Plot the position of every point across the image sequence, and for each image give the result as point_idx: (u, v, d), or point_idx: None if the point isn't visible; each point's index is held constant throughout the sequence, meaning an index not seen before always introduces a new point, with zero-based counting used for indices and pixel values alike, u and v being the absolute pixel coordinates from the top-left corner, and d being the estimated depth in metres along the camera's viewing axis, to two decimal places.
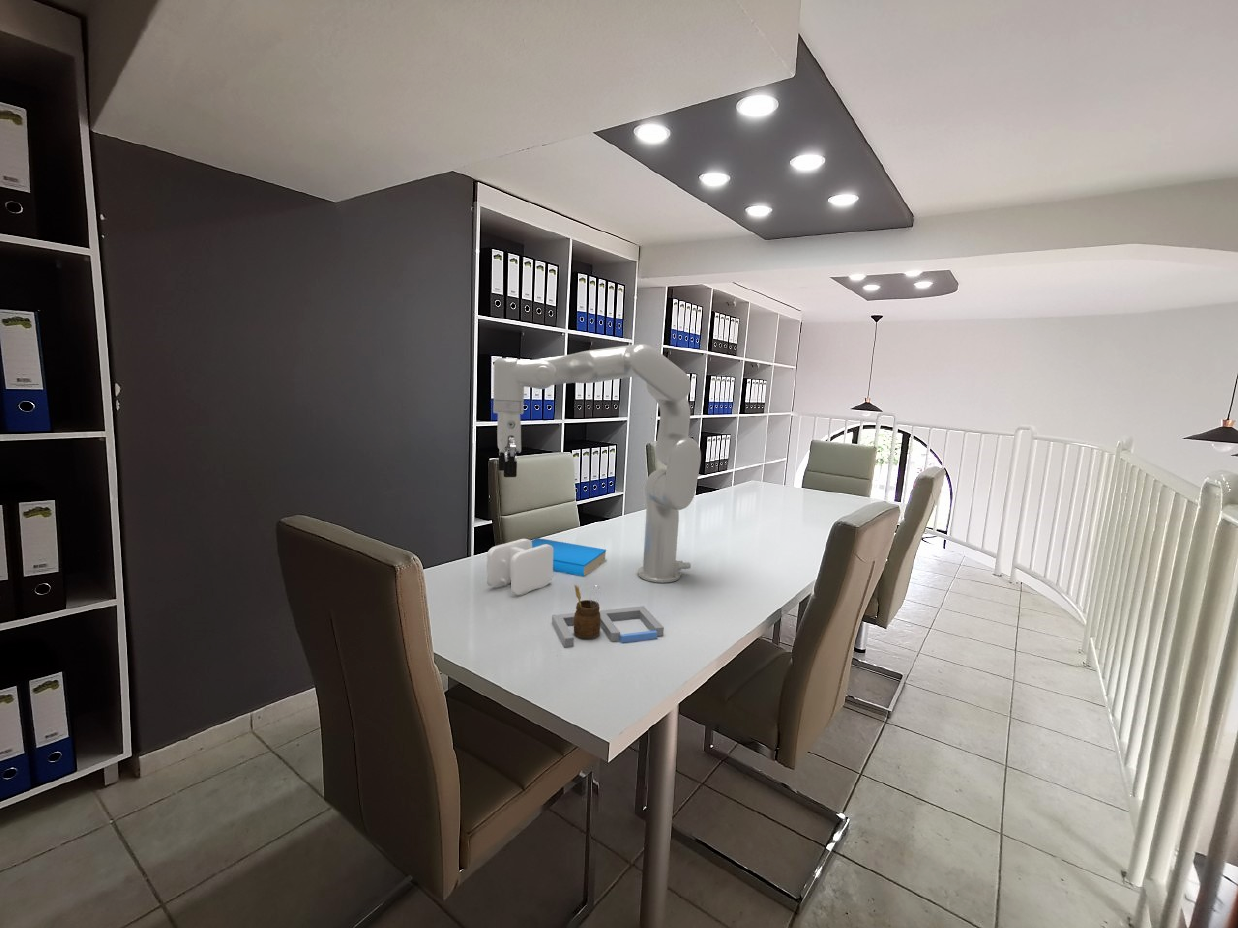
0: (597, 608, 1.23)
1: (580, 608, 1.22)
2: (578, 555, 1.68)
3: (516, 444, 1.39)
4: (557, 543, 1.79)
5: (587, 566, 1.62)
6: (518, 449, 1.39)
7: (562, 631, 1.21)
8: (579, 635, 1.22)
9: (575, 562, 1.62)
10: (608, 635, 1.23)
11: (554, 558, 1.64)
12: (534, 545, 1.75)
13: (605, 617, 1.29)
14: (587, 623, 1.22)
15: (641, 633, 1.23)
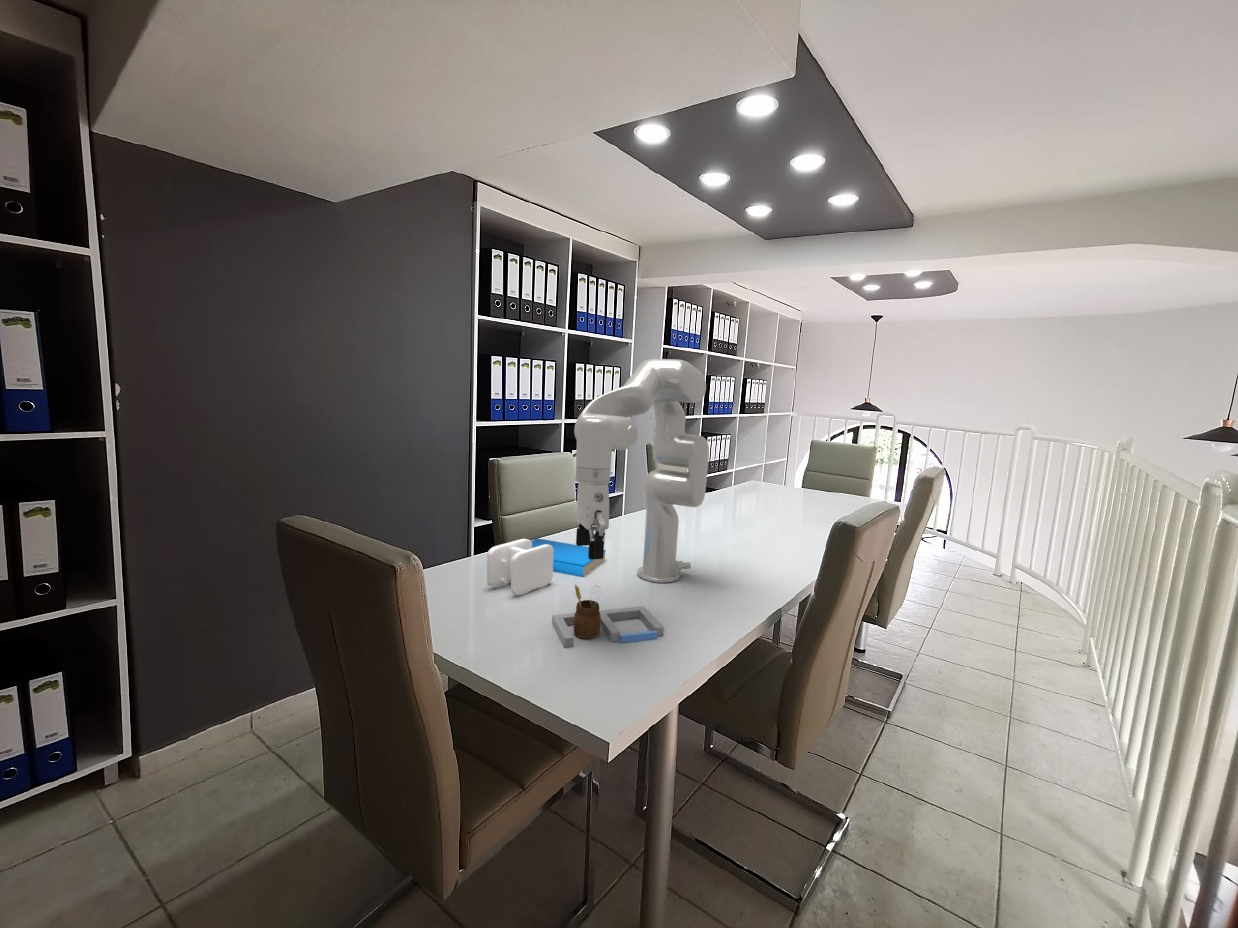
0: (597, 608, 1.23)
1: (580, 608, 1.22)
2: (577, 555, 1.68)
3: (604, 520, 1.16)
4: (556, 543, 1.79)
5: (587, 566, 1.62)
6: (606, 526, 1.17)
7: (562, 631, 1.21)
8: (579, 635, 1.22)
9: (574, 562, 1.62)
10: (608, 635, 1.23)
11: (553, 558, 1.64)
12: (534, 546, 1.75)
13: (605, 617, 1.29)
14: (587, 623, 1.22)
15: (641, 633, 1.23)
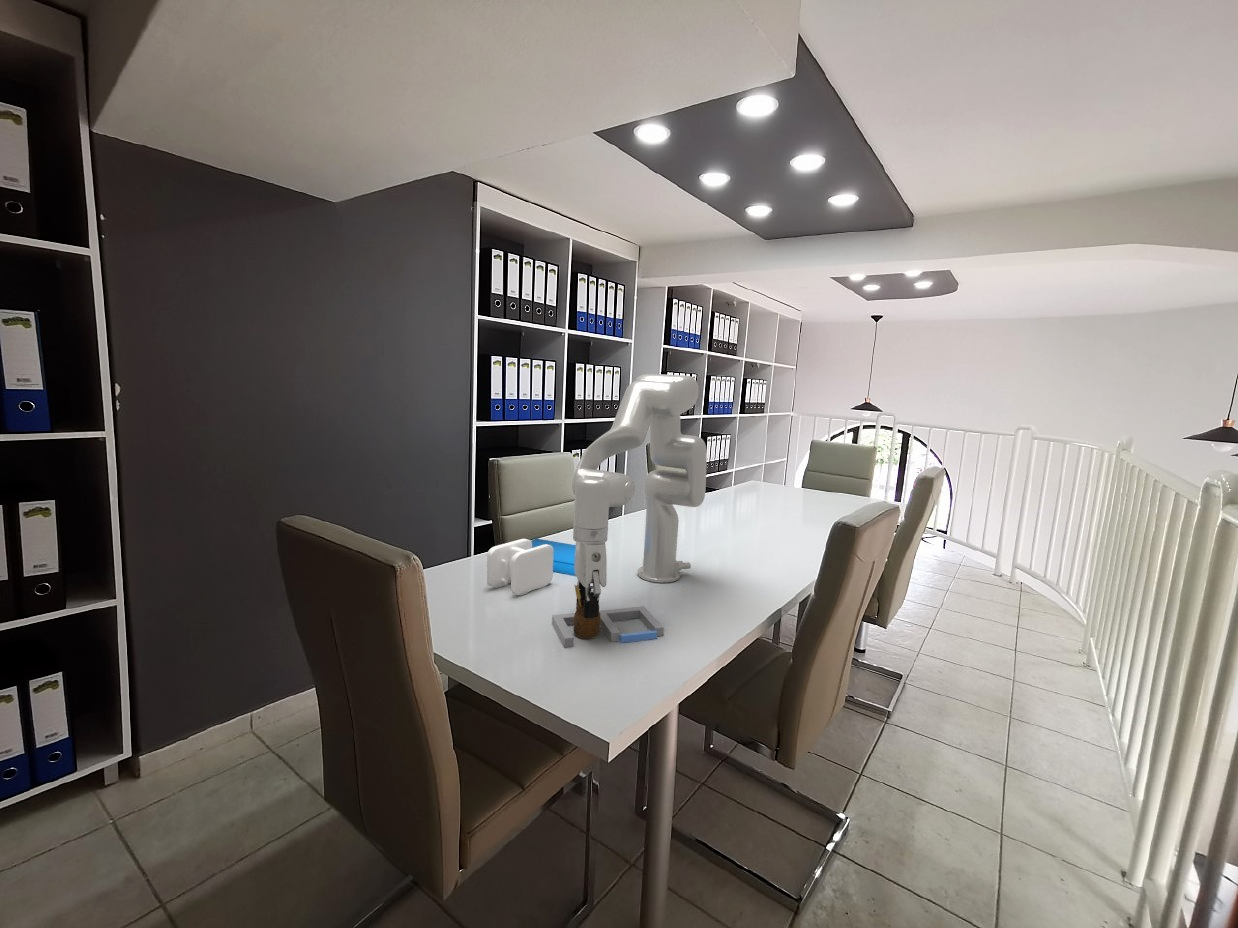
0: None
1: (580, 608, 1.22)
2: None
3: (601, 579, 1.19)
4: (556, 543, 1.78)
5: None
6: (603, 584, 1.19)
7: (562, 631, 1.21)
8: (579, 635, 1.22)
9: (574, 563, 1.61)
10: (608, 635, 1.23)
11: (553, 559, 1.64)
12: (533, 546, 1.75)
13: (605, 617, 1.29)
14: (587, 623, 1.22)
15: (641, 633, 1.23)
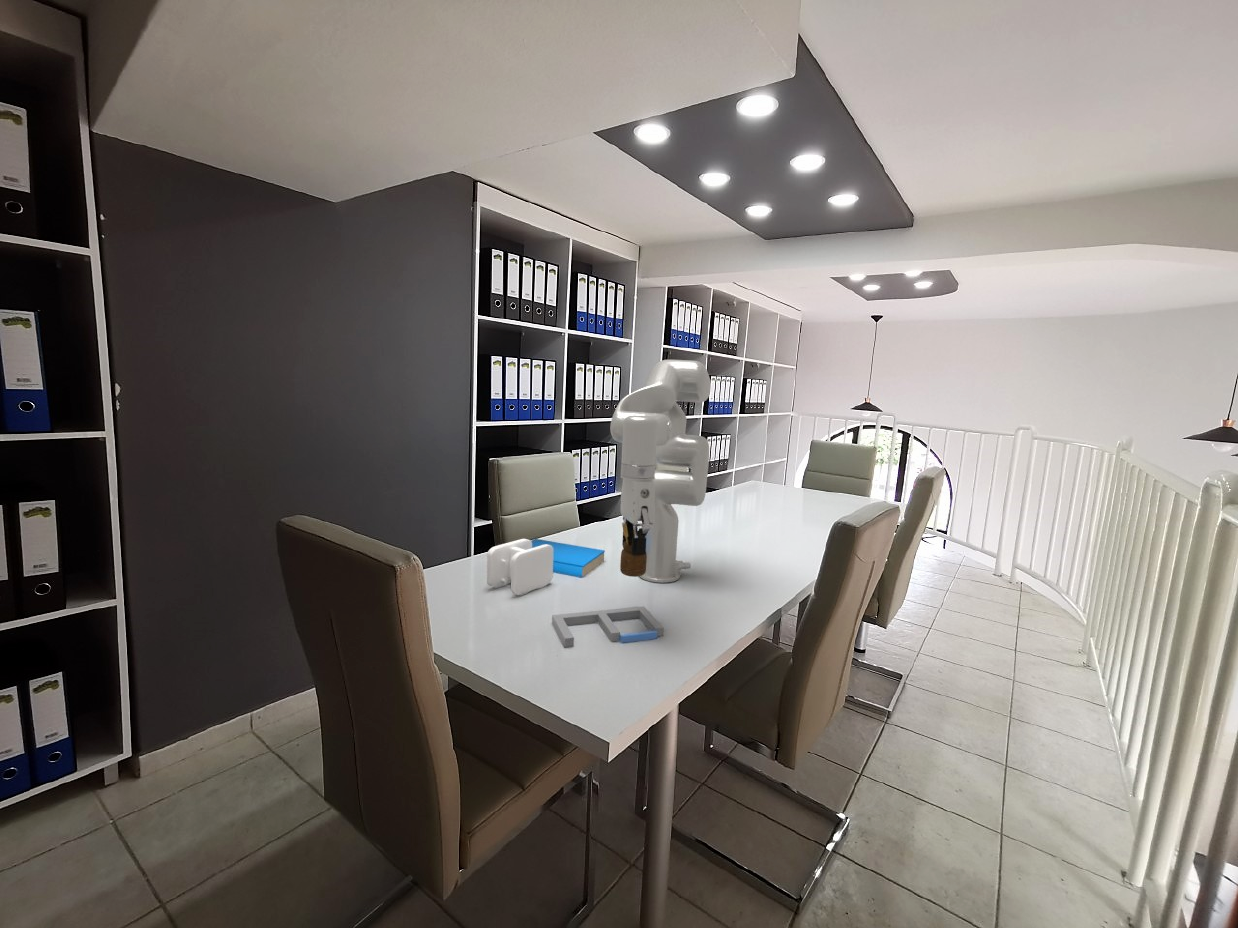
0: None
1: (627, 546, 1.24)
2: (576, 556, 1.67)
3: (650, 515, 1.20)
4: (555, 544, 1.78)
5: (586, 567, 1.62)
6: (652, 521, 1.20)
7: (562, 631, 1.21)
8: (626, 573, 1.24)
9: (573, 563, 1.61)
10: (608, 635, 1.23)
11: None
12: (533, 546, 1.74)
13: (605, 617, 1.29)
14: (635, 561, 1.23)
15: (641, 633, 1.23)
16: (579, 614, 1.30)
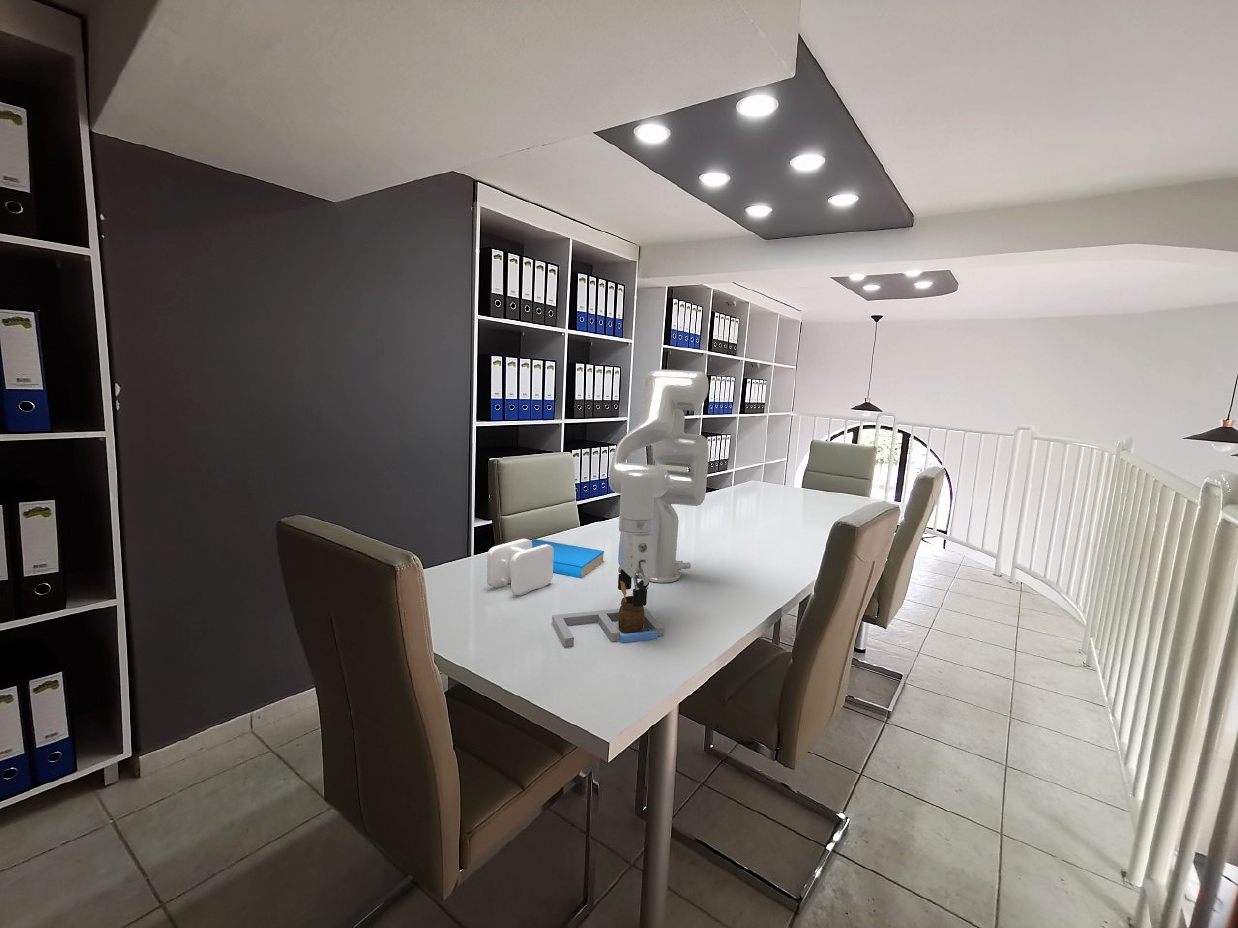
0: None
1: (625, 604, 1.26)
2: (576, 556, 1.67)
3: (647, 569, 1.22)
4: (555, 544, 1.78)
5: (585, 567, 1.61)
6: (649, 574, 1.22)
7: (562, 631, 1.21)
8: (624, 630, 1.26)
9: (573, 563, 1.61)
10: (608, 635, 1.23)
11: None
12: (532, 547, 1.74)
13: (605, 617, 1.29)
14: (633, 618, 1.25)
15: (641, 633, 1.23)
16: (579, 614, 1.30)
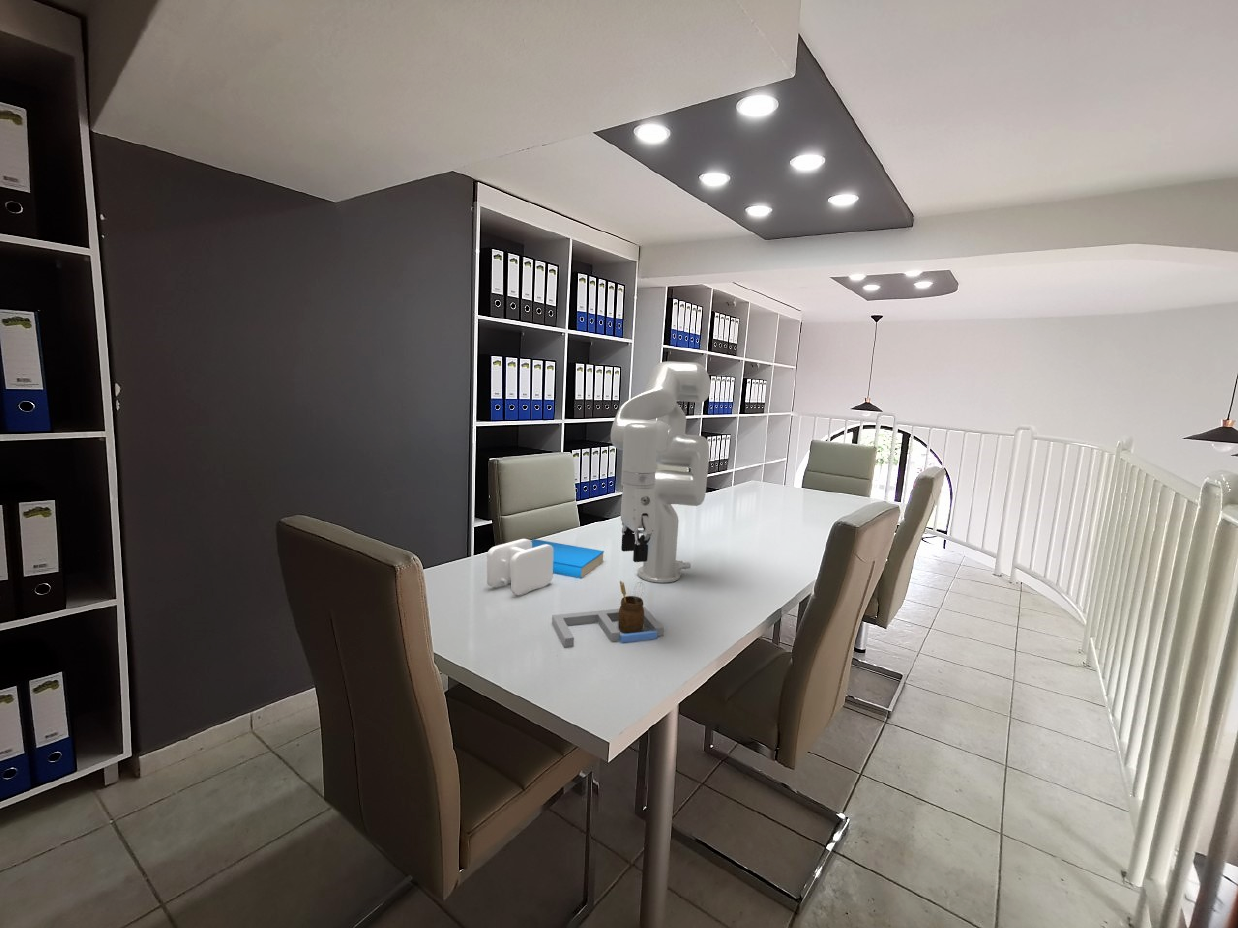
0: (641, 604, 1.26)
1: (625, 603, 1.26)
2: (575, 557, 1.67)
3: (650, 523, 1.20)
4: (554, 544, 1.77)
5: (585, 567, 1.61)
6: (652, 528, 1.21)
7: (562, 631, 1.21)
8: (624, 630, 1.26)
9: (572, 564, 1.60)
10: (608, 635, 1.23)
11: None
12: None
13: (605, 617, 1.29)
14: (632, 618, 1.25)
15: (641, 633, 1.23)
16: (579, 614, 1.30)
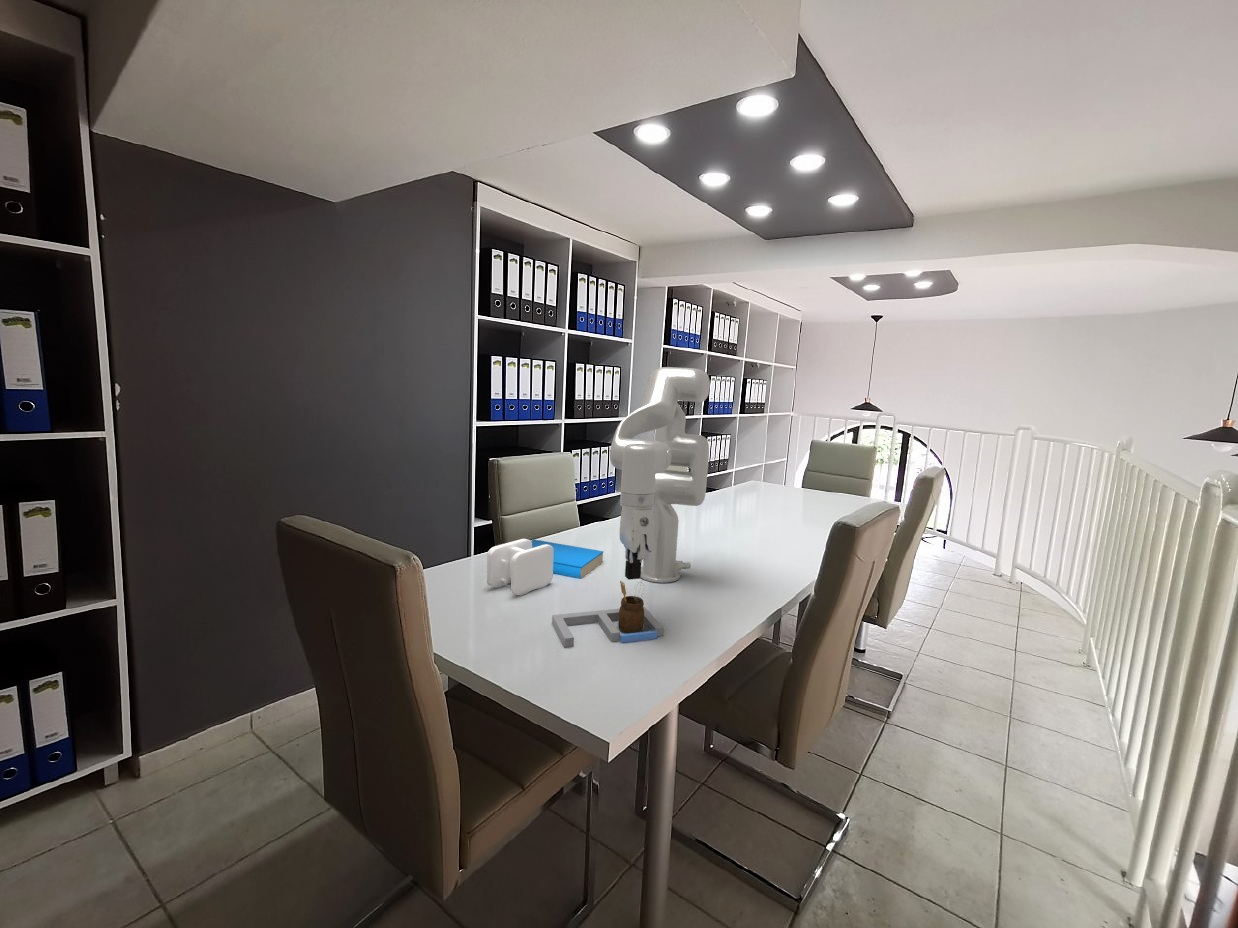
0: (642, 604, 1.26)
1: (625, 603, 1.26)
2: (575, 557, 1.66)
3: (649, 543, 1.21)
4: (554, 545, 1.77)
5: (584, 568, 1.61)
6: (651, 549, 1.21)
7: (562, 631, 1.21)
8: (624, 630, 1.26)
9: (572, 564, 1.60)
10: (608, 635, 1.23)
11: None
12: None
13: (605, 617, 1.29)
14: (632, 618, 1.25)
15: (641, 633, 1.23)
16: (579, 614, 1.30)
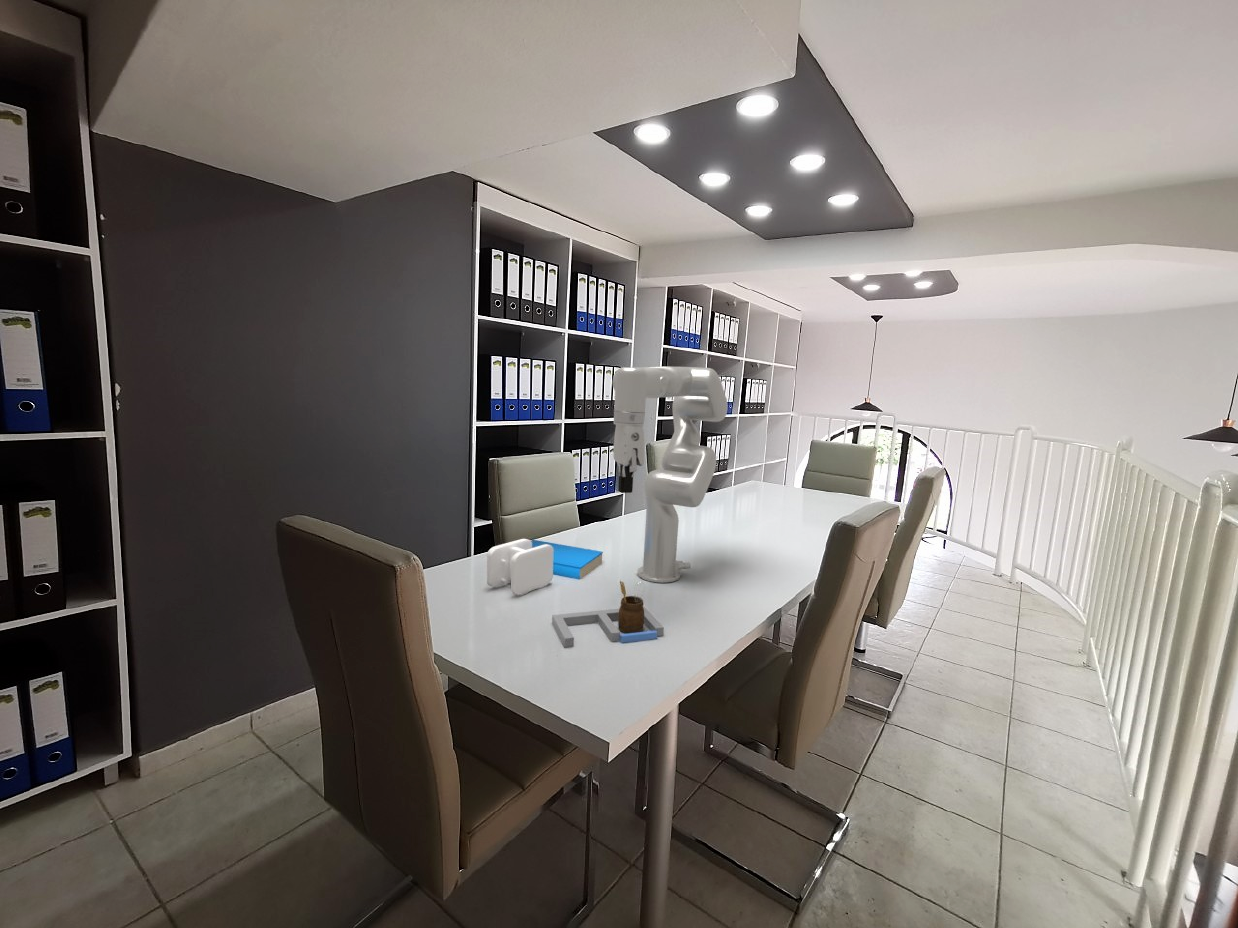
0: (641, 604, 1.26)
1: (625, 603, 1.26)
2: (574, 557, 1.66)
3: (640, 457, 1.33)
4: (553, 545, 1.77)
5: (583, 568, 1.60)
6: (641, 462, 1.34)
7: (562, 631, 1.21)
8: (624, 630, 1.26)
9: (571, 564, 1.60)
10: (608, 635, 1.23)
11: None
12: None
13: (605, 617, 1.29)
14: (632, 618, 1.25)
15: (641, 633, 1.23)
16: (579, 614, 1.30)
